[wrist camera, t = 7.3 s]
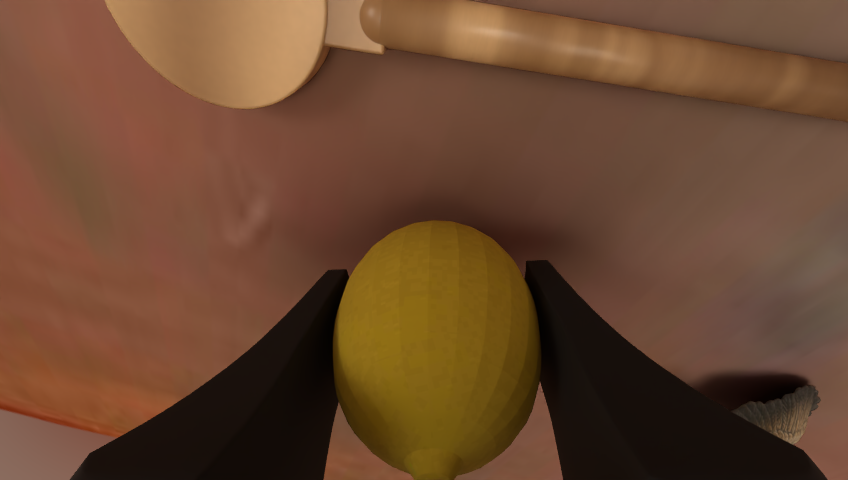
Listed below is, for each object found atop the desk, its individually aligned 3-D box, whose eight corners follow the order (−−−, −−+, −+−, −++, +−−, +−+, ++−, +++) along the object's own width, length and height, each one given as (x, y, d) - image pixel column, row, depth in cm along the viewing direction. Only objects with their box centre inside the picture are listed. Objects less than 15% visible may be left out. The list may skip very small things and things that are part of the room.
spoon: (971, -22, 9) (1043, -23, 8) (807, 183, 12) (844, 203, 11) (85, -181, 8) (30, -207, 7) (154, 84, 11) (122, 95, 10)
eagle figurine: (614, 485, 21) (811, 519, 19) (655, 608, 14) (973, 685, 12) (616, 352, 21) (816, 368, 19) (660, 412, 14) (986, 451, 12)
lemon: (468, 317, 16) (487, 555, 9) (343, 272, 15) (263, 506, 8) (545, 215, 13) (652, 458, 6) (396, 149, 12) (338, 359, 5)
